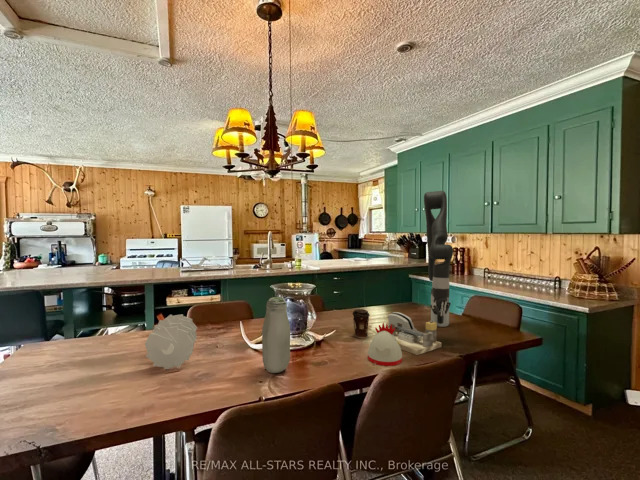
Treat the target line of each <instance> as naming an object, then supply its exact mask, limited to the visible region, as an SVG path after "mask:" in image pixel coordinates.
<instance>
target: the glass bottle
mask: <svg viewBox="0 0 640 480" xmlns="http://www.w3.org/2000/svg"><path fill="white" fill-rule="evenodd" d="M287 306H288V303H287V302H286V300H285V298H284V297H283V296H273V297H270V298H269V299H268V300H267V301H266V306H265V307H266V312H265V316H264V321H263V324H262V328H261V329H262V330H261V347H262V349H261V350H262V351H261V352H262V355H261V356H262V363H263V367H264V368H265V370H266V371H267V372H269V373H271V374H279V373H282V372H283V371H284V370H286V369H287V367H288V366H289V363H290V360H291V325H290V320H289V317H288V310H287V309H288V307H287Z"/></svg>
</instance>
